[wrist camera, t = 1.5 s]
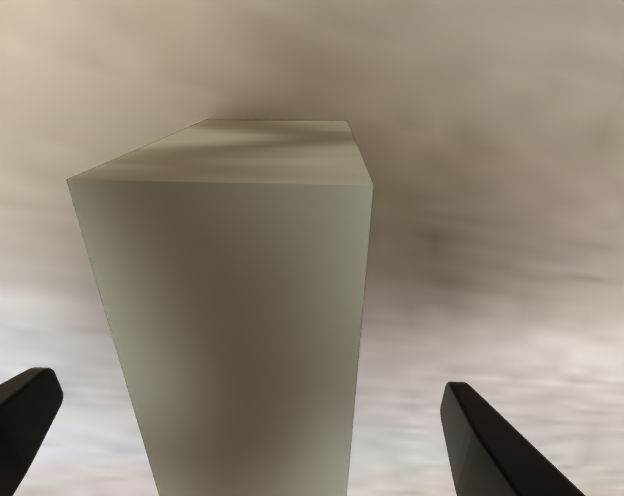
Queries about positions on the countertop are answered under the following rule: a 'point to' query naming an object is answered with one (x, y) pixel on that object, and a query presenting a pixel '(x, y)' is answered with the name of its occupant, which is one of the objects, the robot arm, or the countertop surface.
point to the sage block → (236, 300)
